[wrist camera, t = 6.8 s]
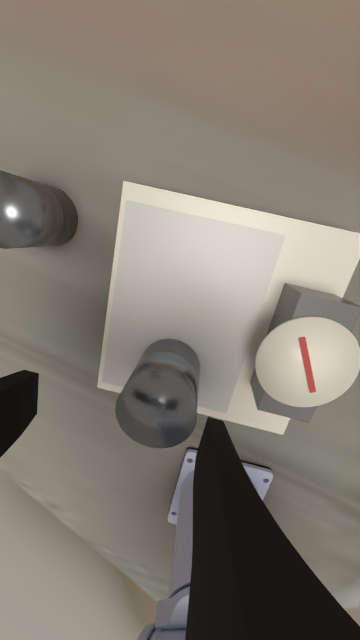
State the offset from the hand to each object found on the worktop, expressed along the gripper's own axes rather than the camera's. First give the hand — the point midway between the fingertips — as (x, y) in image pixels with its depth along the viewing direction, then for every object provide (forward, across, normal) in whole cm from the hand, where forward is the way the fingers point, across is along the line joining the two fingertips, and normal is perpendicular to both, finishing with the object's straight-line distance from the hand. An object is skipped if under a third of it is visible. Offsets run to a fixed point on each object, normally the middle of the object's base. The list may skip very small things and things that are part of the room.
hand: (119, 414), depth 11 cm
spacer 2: (+7, -1, +1) cm, 7 cm away
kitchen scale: (+10, -3, -2) cm, 11 cm away
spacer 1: (+10, +10, -6) cm, 16 cm away
